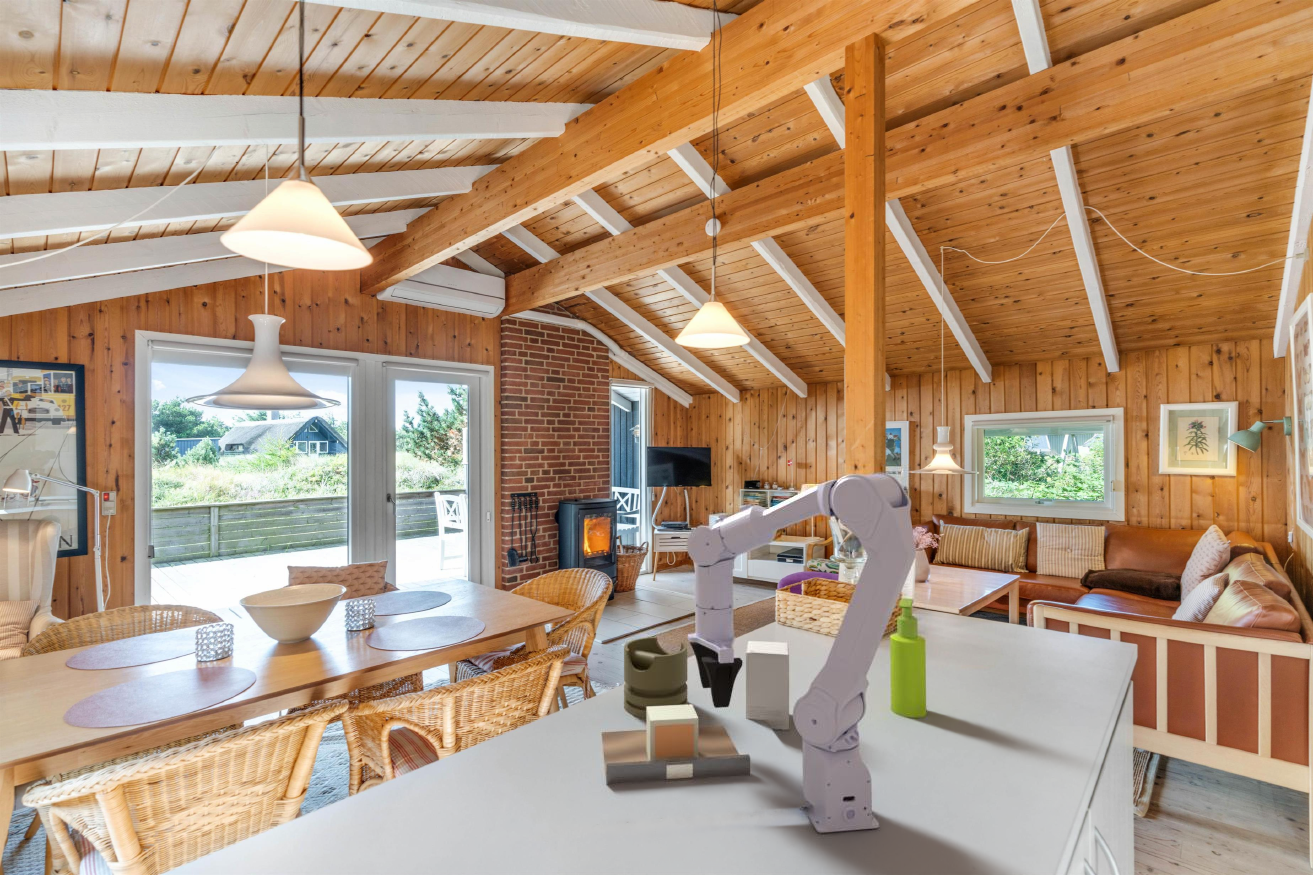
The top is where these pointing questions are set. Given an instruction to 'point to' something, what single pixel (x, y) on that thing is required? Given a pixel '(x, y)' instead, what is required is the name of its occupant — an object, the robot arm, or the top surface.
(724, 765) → the rail
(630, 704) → the piston
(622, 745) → the shelf board
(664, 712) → the carton
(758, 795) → the top surface
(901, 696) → the soap dispenser
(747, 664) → the supplement box
